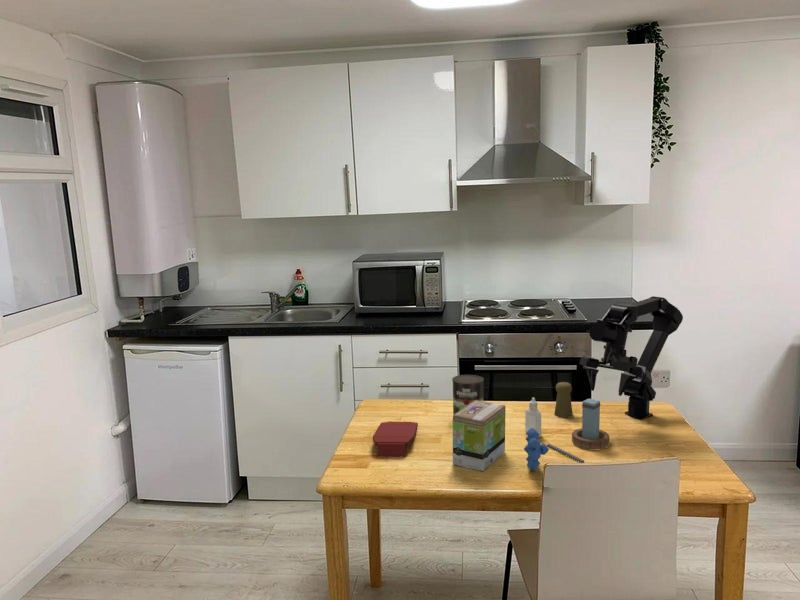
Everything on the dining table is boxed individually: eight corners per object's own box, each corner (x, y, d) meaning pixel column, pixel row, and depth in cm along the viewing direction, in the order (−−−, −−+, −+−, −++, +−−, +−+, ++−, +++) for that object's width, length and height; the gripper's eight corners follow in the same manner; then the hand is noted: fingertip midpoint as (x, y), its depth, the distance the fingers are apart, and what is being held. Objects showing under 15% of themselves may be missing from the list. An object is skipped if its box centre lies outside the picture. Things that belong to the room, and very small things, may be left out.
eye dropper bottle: (527, 438, 190) (527, 400, 188) (524, 431, 196) (524, 394, 194) (541, 438, 190) (542, 400, 188) (538, 431, 196) (538, 394, 194)
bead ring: (590, 433, 192) (590, 425, 192) (616, 444, 183) (616, 436, 183) (565, 440, 188) (565, 432, 187) (590, 452, 178) (590, 444, 178)
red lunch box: (381, 436, 206) (370, 456, 181) (381, 421, 206) (370, 440, 181) (418, 436, 205) (412, 457, 180) (418, 421, 205) (411, 440, 180)
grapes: (551, 480, 163) (551, 436, 161) (525, 479, 164) (525, 436, 162) (546, 461, 174) (547, 420, 172) (522, 460, 175) (522, 419, 173)
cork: (571, 411, 212) (571, 380, 210) (574, 417, 206) (574, 385, 204) (553, 411, 212) (553, 380, 211) (555, 417, 207) (556, 385, 205)
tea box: (484, 472, 168) (484, 420, 166) (451, 465, 174) (450, 414, 171) (506, 452, 181) (506, 403, 178) (474, 445, 186) (474, 398, 184)
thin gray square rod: (549, 445, 184) (549, 443, 184) (584, 462, 172) (584, 460, 172) (546, 446, 184) (546, 444, 184) (581, 463, 172) (581, 461, 172)
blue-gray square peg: (588, 439, 188) (588, 398, 186) (599, 442, 185) (600, 400, 183) (581, 443, 185) (582, 401, 183) (592, 446, 183) (593, 404, 181)
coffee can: (482, 425, 202) (482, 384, 199) (451, 424, 204) (450, 383, 202) (485, 414, 212) (484, 374, 209) (455, 413, 214) (454, 373, 211)
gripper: (598, 342, 186) (588, 393, 186) (656, 352, 188) (646, 403, 188) (583, 338, 197) (574, 386, 197) (638, 348, 199) (629, 396, 199)
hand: (606, 393), depth 195 cm, fingers open, 9 cm apart
